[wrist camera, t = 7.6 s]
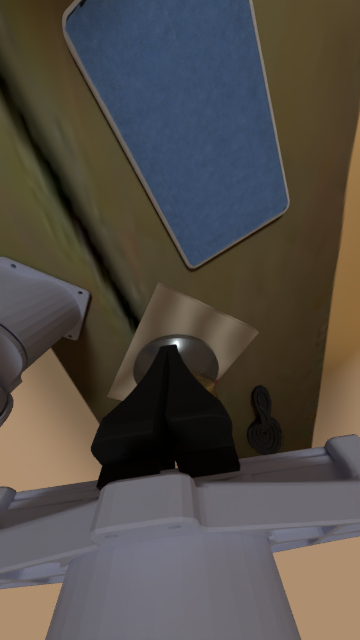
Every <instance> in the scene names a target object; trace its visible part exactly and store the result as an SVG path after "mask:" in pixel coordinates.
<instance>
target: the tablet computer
mask: <svg viewBox="0 0 360 640" xmlns="http://www.w3.org/2000/svg"><path fill="white" fill-rule="evenodd" d="M62 28H63V35H64V38H65V41H66V44H67V46H68V49H69V51H70V53H71V55H72V56H73V58H74V60H75V62H76V64H77V66H78V67H79V69H80V71H81V73H82V75H83V77H84V78H85V80H86V82H87V84H88V86H89V87H90V89H91V91H92V93H93V95H94V97H95V98H96V100H97V102H98V104H99V106H100V108H101V109H102V111H103V113H104V115H105V117H106V118H107V120H108V122H109V124H110V126H111V128H112V130H113V131H114V133H115V135H116V137H117V139H118V141H119V142H120V144H121V146H122V148H123V150H124V152H125V153H126V155H127V157H128V159H129V161H130V163H131V165H132V166H133V168H134V170H135V172H136V174H137V176H138V177H139V179H140V181H141V183H142V185H143V187H144V188H145V190H146V192H147V194H148V196H149V198H150V199H151V201H152V203H153V205H154V207H155V209H156V211H157V212H158V214H159V216H160V218H161V220H162V221H163V223H164V225H165V227H166V229H167V231H168V232H169V234H170V236H171V238H172V240H173V242H174V243H175V245H176V247H177V249H178V251H179V253H180V254H181V256H182V258H183V260H184V262H185V264H186V265H187V266H188V267H189V268H191V269H194V268H197V267H199V266H200V265H202V264H203V263H205V262H207V261H208V260H210V259H212V258H213V257H215V256H216V255H218V254H219V253H221V252H223V251H224V250H226V249H228V248H229V247H231V246H232V245H234V244H236V243H237V242H239V241H241V240H242V239H244V238H245V237H247V236H249V235H250V234H252V233H253V232H255V231H257V230H258V229H260V228H261V227H263V226H265V225H266V224H268V223H270V222H271V221H273V220H274V219H276V218H278V217H279V216H281V215H282V214H284V213H285V212H286V210H287V209H288V207H289V202H290V200H289V195H288V189H287V184H286V179H285V174H284V168H283V163H282V158H281V153H280V147H279V142H278V137H277V131H276V126H275V121H274V115H273V110H272V104H271V99H270V94H269V88H268V83H267V78H266V73H265V67H264V61H263V57H262V52H261V46H260V41H259V36H258V30H257V25H256V19H255V13H254V7H253V2H252V0H74V1H73V2H72V4H71V5H70V6H69V7H68V8H67V9H66V11H65V12H64V14H63V18H62Z"/></svg>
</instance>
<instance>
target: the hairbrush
mask: <svg viewBox="0 0 360 640" xmlns="http://www.w3.org/2000/svg"><path fill="white" fill-rule="evenodd" d="M253 390H254V392H253V391H252V396H253V401H254V404H255V406H256V408H257V410H258V412H259V416H260V420H257V421H255V422H253V423H252V424H251V425H250V427H249V428H248V432H247V436H248V439H249V441H250V443H251V445H252V447H253V448H254V449H255V450H256V452H257V453H259V454H261V456H262V455H270V454H276V453H278V451H279V449H280V447H282V446H281V444H282V443H281V439H282V438H283V437H284V436H283V437H282V435H281V432H282V430H281V428H280V425H279V424H278V422H277V421H276V420H274V418H270V413H271V399H270V396H269V393H268V391H267V389H265V387H263V386H261V385H260V386H257V387H255V389H253ZM263 393H264V394H265V395H264V394H263ZM257 402H258V403H257ZM258 404H259V405H258ZM259 406H260V407H259ZM260 408H261V409H262V410H261V409H260ZM262 411H263V412H264V413H263V412H262ZM264 414H265V415H264ZM265 416H266V417H265ZM274 424H275V425H276V426H275V425H274ZM271 427H272V428H271ZM263 430H265V434H263V433H264V432H263ZM268 430H269V431H268ZM259 432H260V433H259ZM282 433H283V432H282ZM256 434H257V436H256ZM252 436H253V437H252ZM283 439H284V438H283ZM283 441H284V440H283ZM282 445H283V444H282ZM283 449H284V448H283ZM280 450H281V449H280ZM282 452H283V451H282Z"/></svg>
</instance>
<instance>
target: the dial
mask: <svg viewBox="0 0 360 640" xmlns="http://www.w3.org/2000/svg"><path fill="white" fill-rule="evenodd" d="M172 344H176V345H177V348H178V351H179V354H180V356H181V358H182V359H183V361H184V363H185V364H186V366H187V368H188V369H189V370H190V372H191V373H192V374H193V375H194V377H195V378H196V379H197V380H198V381H199V382H200V383H201V384H202V385H203V386H204V387H205V388H206V389H207V390H208V391H209V392H210V393H211V394H212V395H214V396H215V397H216V398H217V399H218V396H217V393H216V390H215V387H214V382H215V380H216V378H217V376H218V371H219V364H218V360H217V358H216V355H215V353H214V351H213V350H212V348H211V347H210V346H209V345H208V344H207V343H205V342H204V341H202V340H201V339H198V338H196V337H193V336H189V335H183V334H172V335H166V336H162V337H159V338H157V339H155V340H153V341H151V342H149V343H148V344H147V345H145V346H144V347H143V348H142V349H141V350H140V352H139V353H138V355H137V357H136V360H135V363H134V367H133V376H134V380H135V382H136V384H137V385H138V383H139V382H140V381H141V380H142V378H143V377H144V375H145V374H146V372H147V371H148V369H149V368H150V366H151V364H152V363H153V361H154V359H155V357H156V355H157V353H158V351H159V348H160V347H161V346H165V345H172Z"/></svg>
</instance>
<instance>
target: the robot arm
mask: <svg viewBox="0 0 360 640" xmlns="http://www.w3.org/2000/svg"><path fill="white" fill-rule="evenodd" d="M14 265H15V266H16V267H15V266H14ZM80 291H81V292H82V293H83V294H80ZM89 298H90V293H89V292H88V291H86V290H84V289H82V288H79V287H77V286H74V285H72V284H69V283H67V282H65V281H62V280H60V279H57V278H55V277H52V276H50V275H48V274H45V273H43V272H40V271H38V270H35V269H33V268H31V267H28V266H26V265H23V264H21V263H18V262H16V261H14V260H11V259H9V258H6V257H0V427H1V426H2V425H3V423H4V422H5V421H6V419H7V418H8V416H9V414H10V413H11V411H12V408H13V397H12V395H11V394H10V393H11V392H12V391H13V390H14V389H15V388H16V387H17V386H18V385H19V384H20V383H21V382H22V380H21V374H22V372H23V371H25V370H26V369H27V368H28V367H29V366H30V365H31V364H32V363H34V362H35V361H36V360H37V359H38V358H39V357H40V356H42V355H43V354H44V353H45V352H46V351H47V350H48V349H49V348H51V347H52V346H53V345H54V344H55V343H56V342H57V341H58V340H60V339H61V338H62V337H65V338H68V339H72V340H77V339H78V338H79V336H80V332H81V328H82V324H83V320H84V317H85V313H86V309H87V305H88V302H89ZM70 335H71V336H70ZM234 446H235V444H234V440H233V437H232V421H231V419H230V417H229V415H228V413H227V411H226V409H225V408H224V406H223V404H222V403H221V401H220V400H219V399H217V398H216V397H215V396H214V395H212V394H211V393H210V392H209V391H208V390H207V389H206V388H205V387H204V386H203V385H202V384H201V383H200V382H199V381H198V380H197V379H196V378H195V377H194V375H193V374H192V373H191V372H190V370H189V369H188V368H187V366H186V364H185V363H184V361H183V359H182V358H181V356H180V354H179V351H178V348H177V345H176V344H172V345H165V346H161V347H160V348H159V351H158V353H157V355H156V357H155V359H154V361H153V363H152V364H151V366H150V368H149V369H148V371H147V372H146V374H145V375H144V377H143V378H142V380H141V381H140V382H139V383H138V385H137V386H136V387H135V388H134V389H133V391H132V392H131V393H130V394H129V395H128V396H127V397H126V398H125V399H124V400H123V401H122V402H121V403H120V404H119V405H118V406H117V407H115V408H114V409H113V410H112V411H111V412H110V413H108V414H107V415H106V416H105V417H104V418H103V419H102V421H101V423H100V425H99V428H98V430H97V433H96V435H95V438H94V440H93V443H92V446H91V452H92V454H93V455H94V457H95V458H96V459H97V460H98V461H99V462H100V464H101V465H102V469H101V472H100V475H99V479H98V480H95V481H89V482H82V483H75V484H69V485H62V486H56V487H48V488H42V489H36V490H28V491H21V492H16V490H14V489H12V488H10V487H0V589H7V588H15V587H24V586H34V585H43V584H53V583H63V584H62V587H61V591H60V594H59V597H58V600H57V603H56V607H55V610H54V613H53V617H52V620H51V623H50V626H49V630H48V632H47V636H46V639H45V640H301V638H300V635H299V632H298V629H297V626H296V623H295V620H294V617H293V614H292V611H291V608H290V605H289V602H288V599H287V596H286V593H285V590H284V587H283V584H282V581H281V578H280V575H279V572H278V569H277V566H276V563H275V560H274V557H273V554H272V553H274V552H279V551H284V550H290V549H295V548H300V547H305V546H310V545H315V544H321V543H326V542H331V541H336V540H341V539H347V538H352V537H358V536H360V438H359V437H358V435H355V434H352V435H345V436H339V437H334V438H331V439H329V440H328V441H327V442H326V444H325V446H324V447H318V448H311V449H304V450H297V451H290V452H284V453H277V454H270V455H264V456H257V457H250V458H243V459H238V456H237V453H236V450H235V447H234ZM175 460H176V463H177V466H178V468H176V469H175Z"/></svg>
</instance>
